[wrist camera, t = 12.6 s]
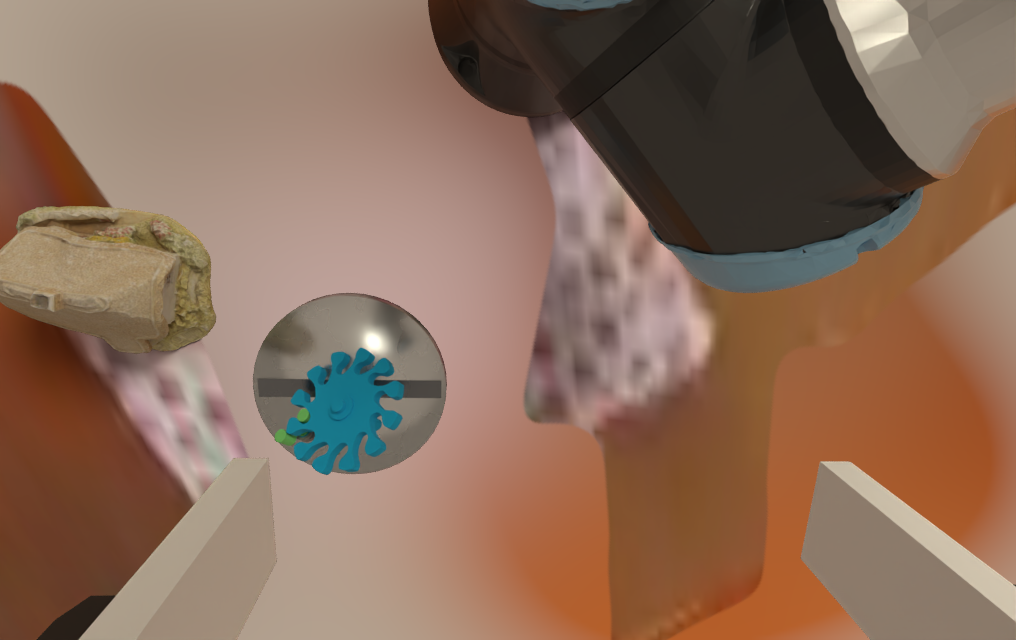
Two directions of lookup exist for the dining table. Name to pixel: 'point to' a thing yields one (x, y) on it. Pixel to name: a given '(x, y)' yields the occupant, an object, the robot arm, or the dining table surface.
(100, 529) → the dining table surface
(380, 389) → the gear
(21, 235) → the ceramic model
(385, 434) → the hub plate
